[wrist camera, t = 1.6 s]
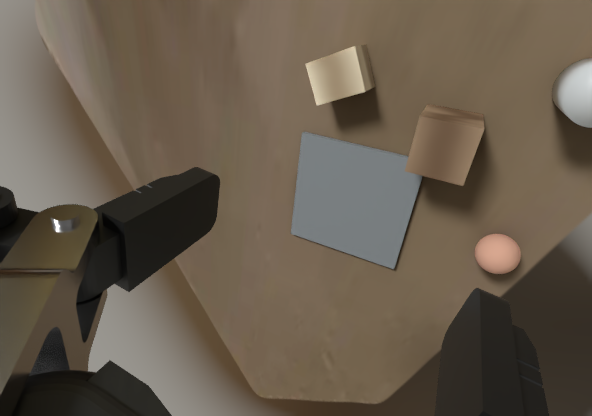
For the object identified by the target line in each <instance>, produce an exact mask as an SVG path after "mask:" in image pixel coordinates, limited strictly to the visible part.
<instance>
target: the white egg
mask: <svg viewBox="0 0 592 416" xmlns="http://www.w3.org/2000/svg"><path fill="white" fill-rule="evenodd" d="M552 99H553V101H554V103H555V105H556V106H557V107H558V108H559V109H560V110H561V111H562V112H563V113H564V114H565V115H566V116H567V117H568V118H570V119H571V120H572V121H573V122H574V123H576V124H578V125H580V126H583V127H588V128H592V58H588V59H583V60H580V61H577V62H575V63H573V64H571V65H570V66H568V67H567V68H566V69H564V70H563V71H562V72H561V73H560V74H559V76H558V77H557V78H556V80H555V82H554V84H553V88H552Z"/></svg>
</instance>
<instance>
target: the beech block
mask: <svg viewBox="0 0 592 416" xmlns="http://www.w3.org/2000/svg"><path fill="white" fill-rule="evenodd" d="M306 67H307V71H308V75H309V78H310V82H311V86H312V89H313V93H314V97H315V101H316V104H317V105H321V104H324V103H328V102H331V101H335V100H338V99H342V98H345V97H349V96H352V95H356V94H359V93H363V92H366V91H368V90H370V89H371V88H373V87H375V83H374V79H373V74H372V69H371V65H370V60H369V56H368V51H367V46H366V45H361V46H354V47H351V48H348V49H346V50H343V51H340V52H337V53H334V54H332V55H329V56H326V57H323V58H320V59H318V60H315V61H312V62H309V63H307V64H306Z"/></svg>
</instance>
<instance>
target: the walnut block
mask: <svg viewBox="0 0 592 416" xmlns="http://www.w3.org/2000/svg"><path fill="white" fill-rule="evenodd" d="M484 129H485V128H484V117H483V114H479V113H473V112H468V111H463V110H457V109H452V108H446V107H441V106H436V105H430V104H427V106H426V107H425V109H424V110H423V112H422V113H421V115H420V117H419V120H418V124H417V128H416V131H415V135H414V139H413V142H412V146H411V149H410V153H409V157H408V160H407V164H406V168H405V172H409V173H413V174H417V175H421V176H425V177H429V178H433V179H437V180H441V181H445V182H449V183H453V184H457V185H461V186H463V185H464V182H465V180H466V177H467V174H468V172H469V169H470V166H471V164H472V161H473V158H474V156H475V153H476V150H477V148H478V145H479V142H480V140H481V137H482V134H483V132H484Z"/></svg>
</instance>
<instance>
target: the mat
mask: <svg viewBox="0 0 592 416" xmlns="http://www.w3.org/2000/svg"><path fill="white" fill-rule="evenodd" d="M408 157H409V156H405V155H401V154H396V153H392V152H388V151H384V150H380V149H375V148H371V147H367V146H363V145H359V144H354V143H350V142H346V141H342V140H337V139H333V138H329V137H325V136H321V135H316V134H312V133H308V132H303V133H302V138H301V147H300V156H299V165H298V174H297V183H296V192H295V201H294V210H293V219H292V228H291V234H293V235H296V236H299V237H302V238H305V239H308V240H310V241H313V242H316V243H319V244H322V245H325V246H328V247H331V248H334V249H336V250H339V251H342V252H345V253H348V254H351V255H354V256H357V257H359V258H362V259H365V260H368V261H371V262H374V263H377V264H380V265H383V266H385V267H388V268H391V269H394V268H395V265H396V261H397V258H398V255H399V252H400V248H401V245H402V242H403V239H404V235H405V232H406V229H407V226H408V222H409V219H410V216H411V213H412V209H413V206H414V203H415V200H416V196H417V193H418V190H419V186H420V183H421V180H422V177H423V176H421V175H417V174H413V173H409V172H405V168H406V164H407V160H408Z"/></svg>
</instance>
